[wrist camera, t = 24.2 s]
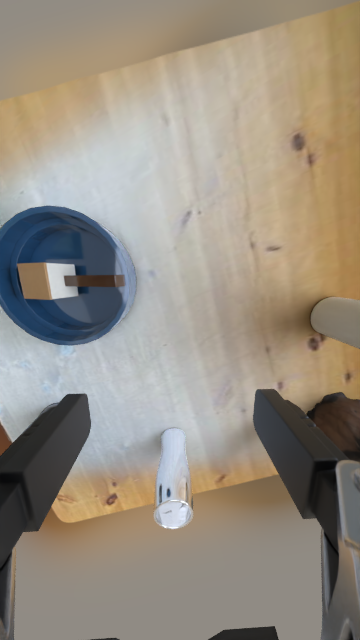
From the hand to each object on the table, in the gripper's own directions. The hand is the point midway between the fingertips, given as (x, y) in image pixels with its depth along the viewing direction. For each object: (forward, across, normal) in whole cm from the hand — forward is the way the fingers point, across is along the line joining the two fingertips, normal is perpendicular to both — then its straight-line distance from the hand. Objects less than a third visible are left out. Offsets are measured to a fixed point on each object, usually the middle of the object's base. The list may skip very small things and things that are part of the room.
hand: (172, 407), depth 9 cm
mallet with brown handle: (+26, +15, -6) cm, 31 cm away
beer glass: (+30, 0, +32) cm, 44 cm away
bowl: (+30, +18, -6) cm, 35 cm away
